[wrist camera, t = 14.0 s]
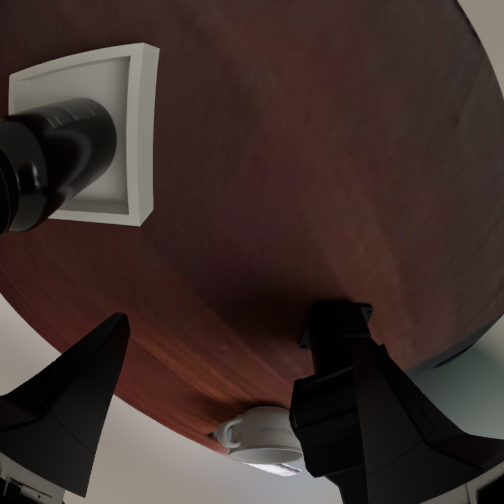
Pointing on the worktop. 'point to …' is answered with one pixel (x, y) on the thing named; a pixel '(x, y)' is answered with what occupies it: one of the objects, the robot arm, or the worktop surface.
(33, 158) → the supplement bottle
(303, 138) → the worktop surface
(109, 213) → the tray
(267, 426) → the teacup
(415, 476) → the robot arm
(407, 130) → the worktop surface
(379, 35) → the worktop surface
